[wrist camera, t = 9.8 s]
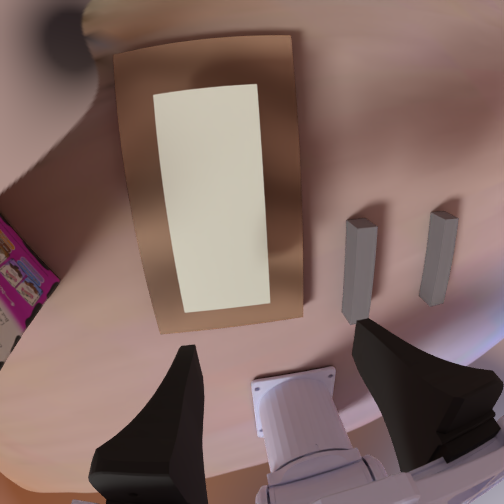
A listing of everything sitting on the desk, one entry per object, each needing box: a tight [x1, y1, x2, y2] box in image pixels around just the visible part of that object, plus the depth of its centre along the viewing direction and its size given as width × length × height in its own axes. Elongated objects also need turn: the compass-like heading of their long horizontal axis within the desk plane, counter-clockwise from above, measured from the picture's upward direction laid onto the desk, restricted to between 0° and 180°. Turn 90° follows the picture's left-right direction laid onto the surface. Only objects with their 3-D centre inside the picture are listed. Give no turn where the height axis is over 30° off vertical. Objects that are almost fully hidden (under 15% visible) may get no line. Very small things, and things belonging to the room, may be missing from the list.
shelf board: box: [153, 84, 270, 313], centre depth 17 cm, size 12×5×2 cm, turn 4°
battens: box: [342, 211, 459, 325], centre depth 24 cm, size 8×10×2 cm
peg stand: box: [113, 35, 303, 334], centre depth 19 cm, size 20×11×3 cm, turn 4°
